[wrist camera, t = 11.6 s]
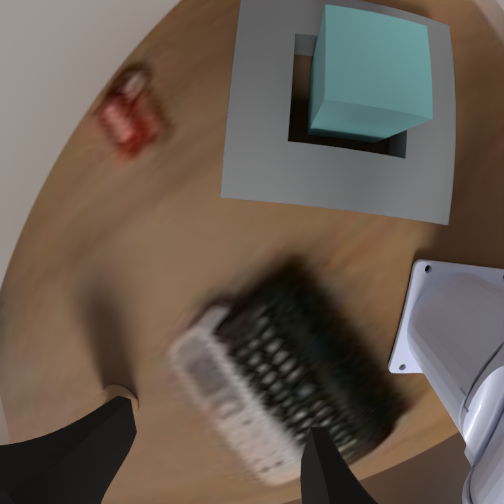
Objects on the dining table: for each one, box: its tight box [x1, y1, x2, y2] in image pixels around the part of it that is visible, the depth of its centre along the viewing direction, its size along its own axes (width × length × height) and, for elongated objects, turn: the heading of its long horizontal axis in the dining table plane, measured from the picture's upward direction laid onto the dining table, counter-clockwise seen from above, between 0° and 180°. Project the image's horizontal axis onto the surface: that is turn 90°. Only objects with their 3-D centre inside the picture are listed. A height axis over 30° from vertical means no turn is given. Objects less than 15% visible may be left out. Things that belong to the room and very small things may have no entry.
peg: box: [307, 4, 433, 143], centre depth 13 cm, size 4×4×8 cm
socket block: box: [220, 0, 456, 225], centre depth 15 cm, size 12×12×3 cm
